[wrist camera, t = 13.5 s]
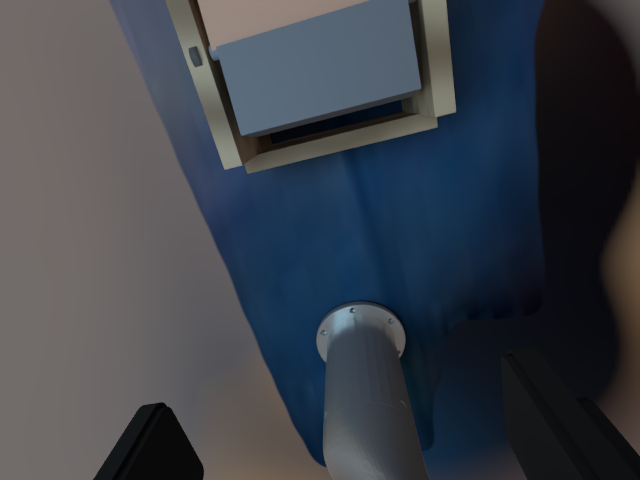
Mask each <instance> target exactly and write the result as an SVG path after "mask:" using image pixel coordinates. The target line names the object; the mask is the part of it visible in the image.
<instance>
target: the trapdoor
mask: <svg viewBox="0 0 640 480" xmlns="http://www.w3.org/2000/svg"><path fill="white" fill-rule="evenodd" d="M413 2H416V0H198V4H199V7H200V11H201V14H202V18H203V21H204V25H205V28H206V32H207V35H208V39H209V42H210V46H209V52H210V55H211V57H212V59H213V60H214V61H217V60H220V63H221V67H222V70H223V74H224V77H225V81H226V85H227V88H228V92H229V95H230V99H231V102H232V106H233V109H234V113H235V116H236V120H237V123H238V127H239V131H240V134H241V136H247V137H259V136H263V135H267V134H270V133H274V132H278V131H282V130H286V129H290V128H294V127H297V126H301V125H305V124H309V123H313V122H317V121H321V120H324V119H328V118H332V117H336V116H340V115H344V114H348V113H351V112H355V111H359V110H363V109H367V108H371V107H375V106H378V105H382V104H386V103H390V102H394V101H398V100H402V99H405V98H409V97H412V96H413V95H414V94H415V93H417V92H418V91H419V90H420V89H421V83H420V76H419V69H418V63H417V56H416V50H415V43H414V37H413V30H412V24H411V17H410V11H409V4H410V3H413Z"/></svg>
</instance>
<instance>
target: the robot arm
mask: <svg viewBox="0 0 640 480" xmlns="http://www.w3.org/2000/svg"><path fill="white" fill-rule="evenodd" d="M316 341H317V348H318V352H319V354H320V356H321V357H322V359H323V360H324V361H325V362H326V382H325V405H324V429H323V453H324V459H325V463H326V466H327V469H328V471H329V473H330V475H331V477H332V479H333V480H429V477H428V474H427V471H426V467H425V463H424V460H423V456H422V452H421V448H420V444H419V440H418V435H417V431H416V427H415V423H414V418H413V414H412V410H411V406H410V402H409V397H408V393H407V389H406V385H405V381H404V376H403V372H402V368H401V364H400V360H399V358H400V357H401V355H402V353H403V351H404V348H405V343H406V340H405V332H404V329H403V326H402V324H401V322H400V320H399V319H398V318H397V316H396V315H395V314H394V313H393V312H392V311H390V310H389V309H387V308H385V307H384V306H381V305H379V304H376V303H371V302H363V301H357V302H350V303H346V304H343V305H340V306H338V307H336V308H335V309H333V310H332V311H330V312H329V313H328V314H327V315H326V316H325V317H324V318H323V319H322V321H321V323H320V325H319V327H318V331H317V338H316ZM501 369H502V370H501V371H502V387H503V404H504V422H505V431H506V435H507V438H508V440H509V443H510V445H511V447H512V449H513V451H514V453H515V455H516V457H517V459H518V461H519V463H520V465H521V467H522V469H523V471H524V473H525V475H526V477H527V479H528V480H640V456H639V455H638V454H637V452H636V451H635V450H634V449H633V448H632V447H631V445H630V444H629V443H628V442H627V441H626V439H625V438H624V437H623V436H622V435H621V433H620V432H619V431H618V430H617V429H616V428H615V426H614V425H613V424H612V423H611V422H610V420H609V419H608V418H607V417H606V416H605V415H604V413H603V412H602V411H601V410H600V409H599V407H598V406H597V405H596V404H595V403H594V402H593V401H592V400H590V399H588V398H587V397H578V398H575V397H574V396H573V395H572V394H571V392H570V391H569V390H568V389H567V387H566V386H565V385H564V384H563V382H562V381H561V380H560V379H559V377H558V376H557V375H556V374H555V372H554V371H553V370H552V369H551V368H550V366H549V365H548V363H547V362H546V361H545V360H544V358H543V357H542V356H541V355H540V353H539V352H538V351H537V350H536V349H535V348H534V347H533V346H526V347H520V348H513V349H508V350H507V356H502V357H501ZM203 476H204V469H203V466H202V463H201V461H200V460H199V458H198V456H197V454H196V452H195V451H194V449H193V447H192V445H191V443H190V442H189V440H188V438H187V436H186V434H185V432H184V431H183V429H182V427H181V425H180V423H179V422H178V420H177V418H176V416H175V415H174V413H173V411H172V409H171V408H169V407H167V406H166V404H165V403H163V402H162V403H155V404H148V405H143V406H142V407H140V408H139V409H138V411H137V412H136V414H135V415H134V417H133V418H132V420H131V422H130V423H129V425H128V426H127V428H126V429H125V431H124V433H123V434H122V436H121V437H120V439H119V440H118V442H117V443H116V445H115V447H114V448H113V450H112V451H111V453H110V455H109V456H108V457H107V459H106V461H105V462H104V464H103V465H102V467H101V468H100V470H99V471H98V473H97V475H96V476H95V478H94V479H93V480H203Z"/></svg>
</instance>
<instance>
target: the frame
mask: <svg viewBox="0 0 640 480" xmlns="http://www.w3.org/2000/svg"><path fill="white" fill-rule="evenodd" d="M165 1H166V4H167V7H168V9H169V12H170V15H171V18H172V21H173V24H174V27H175V29H176V32H177V35H178V38H179V41H180V44H181V47H182V49H183V52H184V55H185V58H186V61H187V64H188V66H189V69H190V72H191V75H192V78H193V81H194V84H195V86H196V89H197V92H198V95H199V98H200V101H201V104H202V106H203V109H204V112H205V115H206V118H207V121H208V124H209V126H210V129H211V132H212V135H213V138H214V141H215V144H216V146H217V149H218V152H219V155H220V158H221V161H222V164H223V166H224V169H229V168H233V167H237V166H241V165H243V164H244V165H245V168H246V171H247V174H249V173H253V172H257V171H261V170H265V169H269V168H273V167H277V166H282V165H286V164H290V163H294V162H298V161H302V160H306V159H310V158H314V157H318V156H322V155H326V154H331V153H335V152H339V151H343V150H347V149H351V148H355V147H359V146H363V145H367V144H371V143H376V142H380V141H384V140H388V139H392V138H396V137H400V136H404V135H408V134H412V133H416V132H421V131H425V130H429V129H433V128H437V127H438V124H437V117H438V116H442V115H446V114H450V113H454V112H456V104H455V93H454V82H453V71H452V60H451V49H450V38H449V27H448V16H447V5H446V0H416V2H413V3H410V4H409V11H410V17H411V24H412V30H413V37H414V43H415V50H416V56H417V63H418V69H419V76H420V83H421V89H420V90H419V91H418V92H417V93H415V94H414V95H413V96H412V97H409V98H405V99H402V100H401V104H402V111H401V112H397V113H393V114H389V115H385V116H381V117H377V118H373V119H369V120H365V121H361V122H357V123H353V124H350V125H346V126H342V127H338V128H334V129H330V130H326V131H322V132H318V133H314V134H310V135H306V136H302V137H298V138H294V139H291V140H287V141H283V142H279V143H275V144H272V141H271V137H270V134H267V135H263V136H259V137H247V136H241V134H240V131H239V127H238V123H237V120H236V116H235V113H234V109H233V106H232V102H231V99H230V95H229V92H228V88H227V85H226V81H225V77H224V74H223V70H222V67H221V63H220V60H217V61H214V60H213V59H212V57H211V55H210V52H209V46H210V42H209V39H208V35H207V32H206V28H205V25H204V21H203V18H202V14H201V11H200V7H199V4H198V0H165Z"/></svg>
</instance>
